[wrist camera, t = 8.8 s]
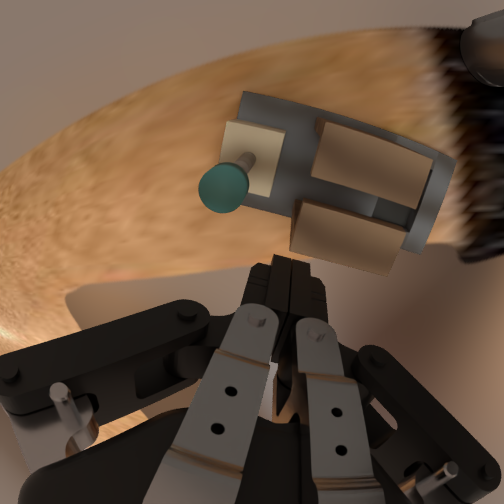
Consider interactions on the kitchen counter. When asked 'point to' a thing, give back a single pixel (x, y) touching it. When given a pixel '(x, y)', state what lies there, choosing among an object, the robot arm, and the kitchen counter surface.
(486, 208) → the kitchen counter surface
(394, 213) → the tunnel
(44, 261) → the kitchen counter surface
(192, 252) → the kitchen counter surface
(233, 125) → the slider block
